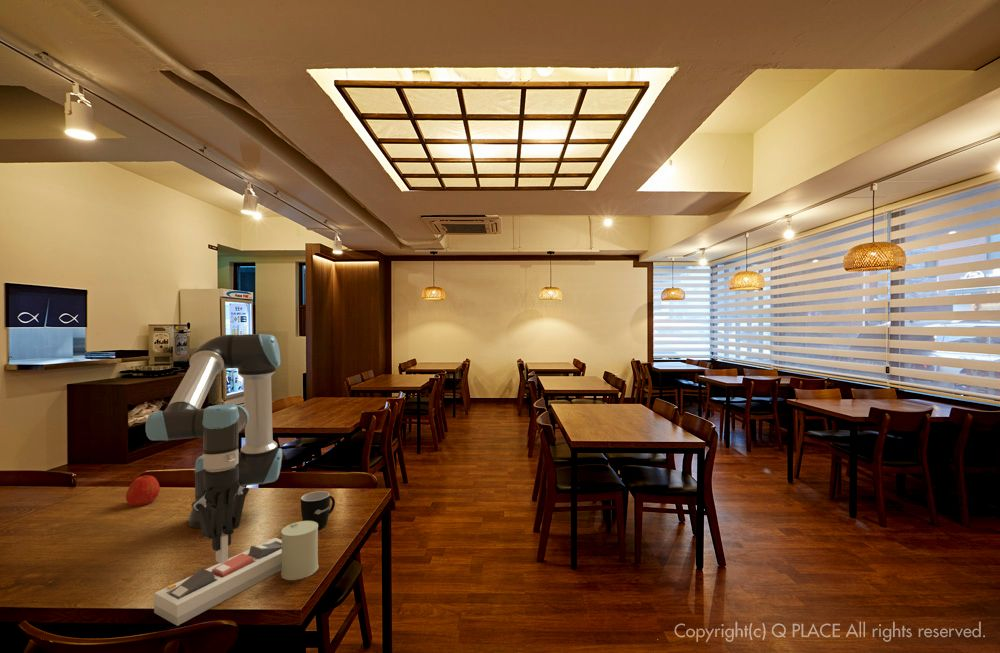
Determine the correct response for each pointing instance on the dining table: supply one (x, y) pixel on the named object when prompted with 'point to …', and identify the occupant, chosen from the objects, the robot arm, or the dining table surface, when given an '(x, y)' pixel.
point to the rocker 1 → (193, 583)
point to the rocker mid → (232, 565)
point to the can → (299, 550)
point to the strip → (216, 588)
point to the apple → (142, 490)
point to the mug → (316, 507)
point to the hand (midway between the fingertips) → (221, 560)
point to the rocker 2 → (264, 549)
